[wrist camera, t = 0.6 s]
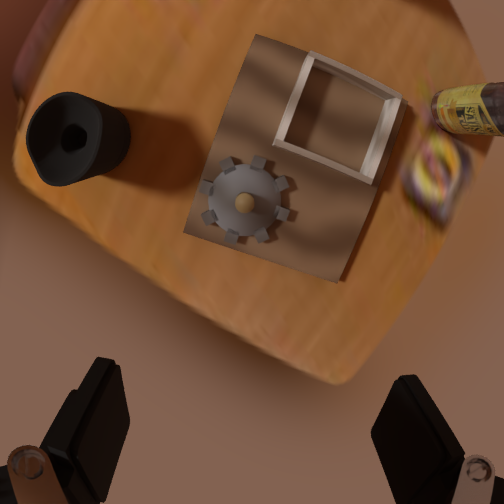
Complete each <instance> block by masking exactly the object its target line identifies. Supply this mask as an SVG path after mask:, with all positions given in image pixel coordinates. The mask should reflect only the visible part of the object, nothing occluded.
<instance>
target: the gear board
mask: <svg viewBox="0 0 504 504" xmlns="http://www.w3.org/2000/svg"><path fill="white" fill-rule="evenodd" d="M402 96H403V95H401V94H400V93H398V92H396V91H394V90H393V89H391V88H389V87H387V86H385V85H383V84H382V83H380V82H378V81H376V80H374V79H372V78H370V77H368V76H366V75H364V74H362V73H360V72H358V71H356V70H354V69H352V68H350V67H348V66H346V65H343V64H341V63H339V62H337V61H335V60H332V59H330V58H328V57H325V56H323V55H321V54H318V53H316V52H313V51H310V52H309V53H308V52H306V51H303V50H301V49H298V48H295V47H293V46H290V45H287V44H284V43H282V42H279V41H276V40H273V39H270V38H267V37H264V36H261V35H258V34H255V37H254V39H253V41H252V44H251V46H250V48H249V51H248V53H247V55H246V58H245V60H244V63H243V65H242V67H241V70H240V72H239V75H238V77H237V80H236V82H235V85H234V87H233V90H232V92H231V95H230V98H229V100H228V103H227V105H226V108H225V111H224V113H223V116H222V119H221V121H220V124H219V127H218V130H217V132H216V135H215V138H214V141H213V143H212V146H211V149H210V152H209V155H208V158H207V160H206V163H205V166H204V169H203V172H202V175H201V178H200V181H199V184H198V187H197V190H196V193H195V196H194V199H193V203H192V206H191V209H190V212H189V215H188V218H187V222H186V225H185V228H184V231H183V233H186V234H189V235H192V236H195V237H198V238H201V239H204V240H207V241H210V242H213V243H216V244H219V245H222V246H225V247H228V248H231V249H234V250H237V251H240V252H244V253H247V254H250V255H253V256H256V257H259V258H262V259H265V260H268V261H271V262H274V263H277V264H280V265H283V266H286V267H289V268H292V269H295V270H298V271H301V272H304V273H307V274H310V275H313V276H316V277H319V278H322V279H325V280H328V281H331V282H334V283H338V281H339V279H340V276H341V274H342V272H343V270H344V268H345V266H346V263H347V261H348V259H349V257H350V254H351V252H352V250H353V248H354V245H355V243H356V241H357V238H358V236H359V234H360V231H361V229H362V227H363V224H364V222H365V219H366V217H367V215H368V212H369V210H370V207H371V205H372V202H373V200H374V197H375V195H376V192H377V190H378V187H379V184H380V182H381V179H382V177H383V174H384V171H385V169H386V166H387V163H388V160H389V158H390V155H391V152H392V149H393V146H394V144H395V141H396V138H397V135H398V132H399V129H400V126H401V123H402V120H403V117H404V114H405V111H406V108H407V104H408V101H406V100H405V99H403V98H402Z"/></svg>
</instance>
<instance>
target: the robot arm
mask: <svg viewBox="0 0 504 504" xmlns="http://www.w3.org/2000/svg"><path fill="white" fill-rule="evenodd" d="M129 425H130V417H129V412H128V407H127V402H126V397H125V392H124V386H123V381H122V375H121V369H120V366H119V365H116V363H115V361H114V360H112V359H107V358H102V357H97V358H96V359H95V361H94V363H93V364H92V366H91V367H90V369H89V371H88V373H87V374H86V376H85V378H84V379H83V381H82V383H81V384H80V386H79V388H78V390H75V389H74V390H72V391H71V392H70V393H69V395H68V396H67V398H66V400H65V402H64V403H63V405H62V407H61V409H60V410H59V412H58V414H57V416H56V417H55V419H54V421H53V423H52V425H51V427H50V428H49V430H48V432H47V434H46V436H45V437H44V439H43V441H42V443H41V445H40V447H39V448H38V447H36V446H32V445H24V446H20V447H17V448H16V449H14V450H13V451H12V452H11V453H10V455H9V456H8V460H7V465H5V466H1V467H0V504H100V502H103V503H104V502H105V501H106V498H107V495H108V492H109V488H110V484H111V482H112V478H113V475H114V472H115V469H116V466H117V462H118V459H119V456H120V453H121V450H122V447H123V444H124V441H125V438H126V435H127V432H128V429H129ZM371 438H372V440H373V443H374V445H375V448H376V450H377V453H378V456H379V459H380V461H381V464H382V467H383V469H384V472H385V475H386V477H387V480H388V483H389V486H390V488H391V491H392V494H393V497H394V499H395V502H396V504H504V479H503V478H500V477H497V476H495V469H494V466H493V464H492V463H491V461H490V460H489V459H487V458H486V457H484V456H481V455H471V456H469V457H467V458H466V459H465V458H464V454H465V452H464V450H463V449H462V447H461V446H460V444H459V442H458V440H457V438H456V437H455V435H454V433H453V432H452V430H451V428H450V427H449V425H448V424H447V422H446V420H445V419H444V417H443V415H442V414H441V412H440V411H439V409H438V407H437V406H436V404H435V403H434V401H433V400H432V398H431V396H430V395H429V394H428V392H427V390H426V389H425V388H424V386H423V384H422V383H421V381H420V380H419V378H418V377H417V376H416V375H414V374H413V375H402V376H400V377H399V378H398V380H395V381H394V383H393V385H392V388H391V390H390V392H389V394H388V396H387V399H386V401H385V403H384V405H383V407H382V409H381V411H380V413H379V415H378V417H377V419H376V421H375V423H374V425H373V427H372V429H371Z"/></svg>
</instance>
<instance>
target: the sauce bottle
mask: <svg viewBox="0 0 504 504" xmlns="http://www.w3.org/2000/svg"><path fill="white" fill-rule="evenodd" d="M431 108H432V114H433V117H434V119H435V121H436V123H437V124H438V125H439V126H440V128H441V129H443V130H445V131H448V132H451V133H454V134H475V135H491V136H503V137H504V82H500V83H483V84H476V85H469V86H462V87H455V88H449V89H446V90H442V91H439V92H438V93H437V94H436V95H435V96H434V98H433V100H432V105H431Z"/></svg>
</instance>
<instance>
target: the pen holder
mask: <svg viewBox="0 0 504 504" xmlns="http://www.w3.org/2000/svg"><path fill="white" fill-rule="evenodd" d="M130 138H131V136H130V128H129V124H128V122H127V120H126V118H125V117H124V115H123V114H122V113H121V112H120V111H119V110H117V109H115V108H114V107H111V106H109V105H107V104H105V103H102V102H99V101H97V100H94V99H92V98H89V97H86V96H84V95H81V94H78V93H74V92H62V93H58V94H56V95H53V96H51V97H50V98H48V99H47V100H46V101H44V102H43V103H42V104H41V105H40V106H39V107H38V109H37V110H36V111H35V113H34V114H33V116H32V118H31V120H30V123H29V125H28V129H27V133H26V145H27V150H28V152H29V155H30V157H31V159H32V162H33V164H34V166H35V168H36V170H37V172H38V174H39V176H40V178H41V179H42V180H43V181H44V182H45V183H47V184H49V185H51V186H66V185H70V184H73V183H76V182H79V181H82V180H85V179H88V178H91V177H94V176H97V175H100V174H103V173H106V172H108V171H110V170H112V169H114V168H115V167H116V166H118V165H119V164H120V163H121V161H122V160H123V159H124V157H125V155H126V153H127V151H128V148H129V145H130Z"/></svg>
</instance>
